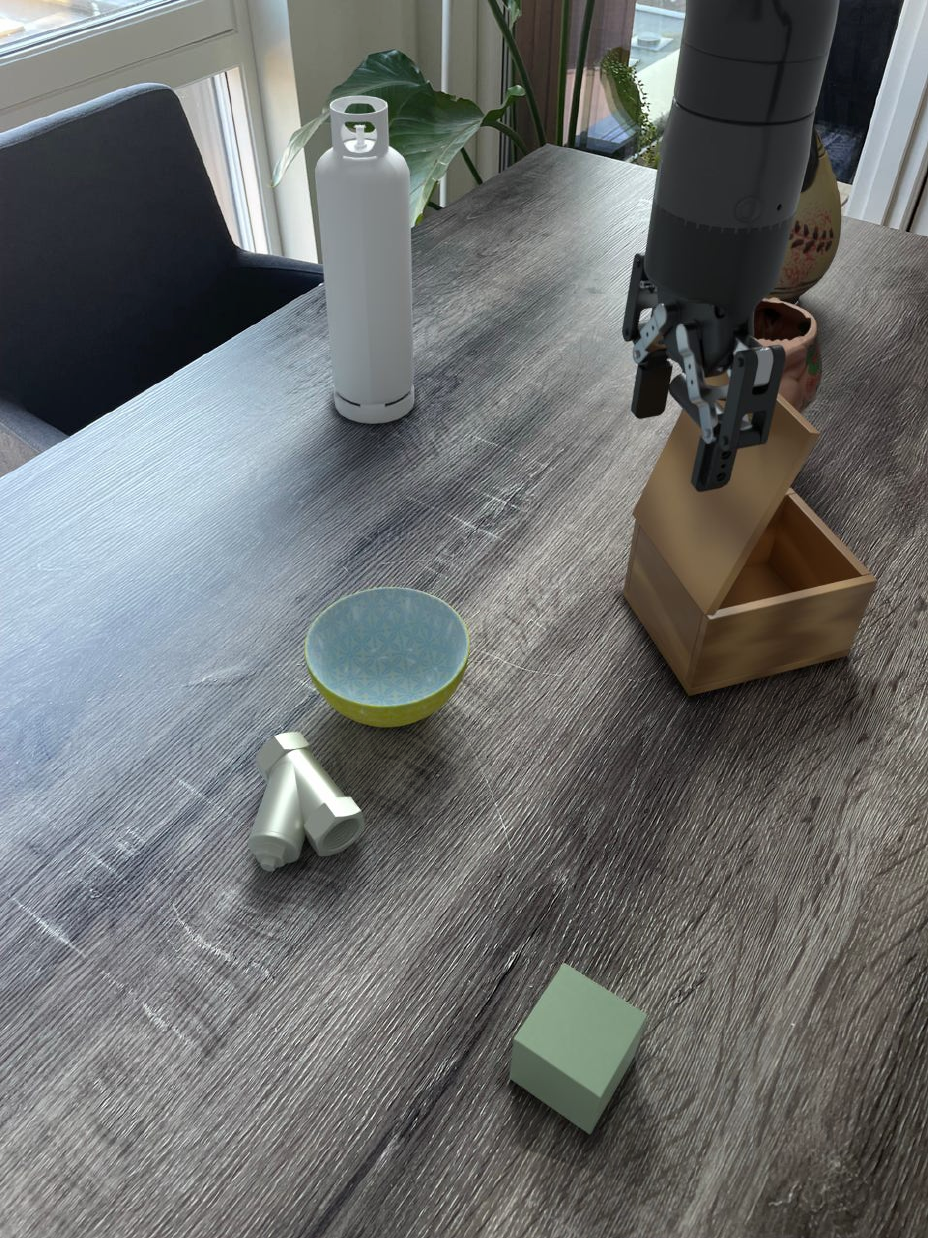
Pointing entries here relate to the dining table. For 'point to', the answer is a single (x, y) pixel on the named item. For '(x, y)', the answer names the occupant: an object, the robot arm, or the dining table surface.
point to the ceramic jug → (812, 224)
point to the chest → (755, 604)
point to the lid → (718, 496)
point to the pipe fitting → (299, 805)
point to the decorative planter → (791, 348)
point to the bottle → (367, 265)
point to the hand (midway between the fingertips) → (676, 448)
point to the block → (576, 1047)
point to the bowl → (387, 655)
